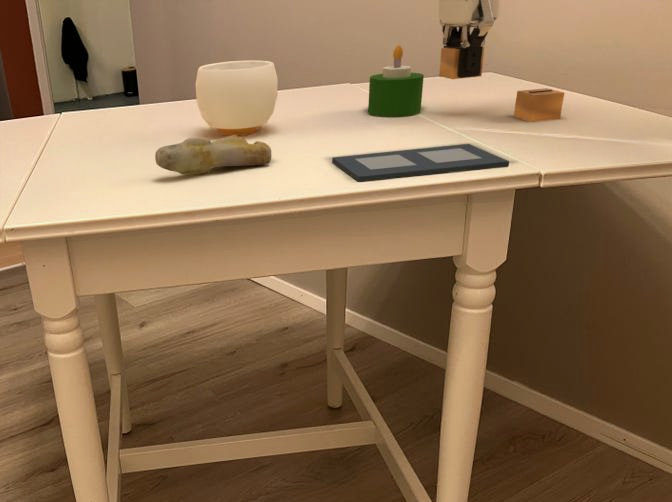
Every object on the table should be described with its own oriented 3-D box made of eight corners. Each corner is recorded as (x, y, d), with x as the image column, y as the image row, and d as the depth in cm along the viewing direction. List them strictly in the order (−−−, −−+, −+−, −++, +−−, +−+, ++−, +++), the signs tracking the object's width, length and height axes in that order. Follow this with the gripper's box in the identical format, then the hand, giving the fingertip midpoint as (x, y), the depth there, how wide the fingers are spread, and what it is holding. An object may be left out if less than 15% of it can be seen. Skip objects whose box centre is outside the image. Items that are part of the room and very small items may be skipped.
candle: (357, 114, 116) (360, 47, 111) (387, 105, 120) (391, 41, 115) (401, 118, 110) (406, 49, 105) (430, 109, 115) (436, 42, 110)
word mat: (468, 148, 91) (468, 143, 90) (508, 166, 82) (509, 160, 82) (331, 162, 89) (332, 156, 89) (358, 181, 80) (358, 175, 80)
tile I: (541, 116, 104) (546, 87, 102) (559, 122, 100) (565, 91, 98) (512, 119, 104) (517, 89, 102) (529, 125, 100) (534, 94, 98)
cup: (200, 143, 104) (196, 73, 99) (197, 127, 115) (193, 63, 110) (283, 137, 104) (283, 66, 99) (272, 121, 115) (271, 57, 110)
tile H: (467, 73, 108) (470, 44, 106) (481, 76, 104) (484, 45, 102) (438, 76, 108) (441, 46, 106) (452, 79, 104) (454, 48, 102)
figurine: (250, 138, 94) (144, 138, 88) (270, 126, 89) (160, 125, 83) (254, 177, 94) (149, 180, 88) (275, 167, 89) (165, 169, 83)
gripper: (532, -75, 90) (513, 78, 98) (470, -65, 105) (458, 67, 113) (476, -70, 89) (462, 83, 98) (421, -61, 104) (413, 72, 113)
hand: (460, 73), depth 106 cm, fingers closed on tile H, 4 cm apart
